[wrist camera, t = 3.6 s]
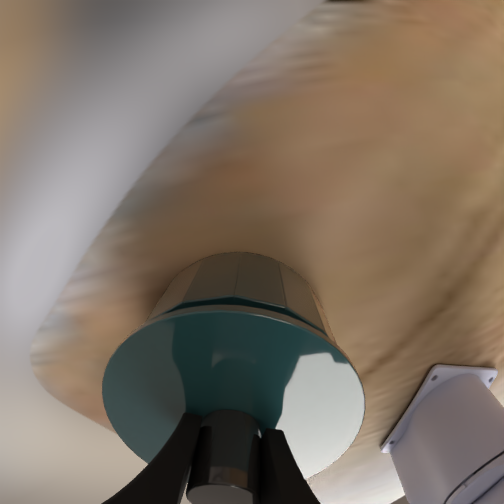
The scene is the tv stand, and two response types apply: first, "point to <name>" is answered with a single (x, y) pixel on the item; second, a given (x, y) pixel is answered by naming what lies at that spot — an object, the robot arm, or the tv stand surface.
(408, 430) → the robot arm
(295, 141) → the tv stand surface
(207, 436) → the lid
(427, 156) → the tv stand surface
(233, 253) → the pot
